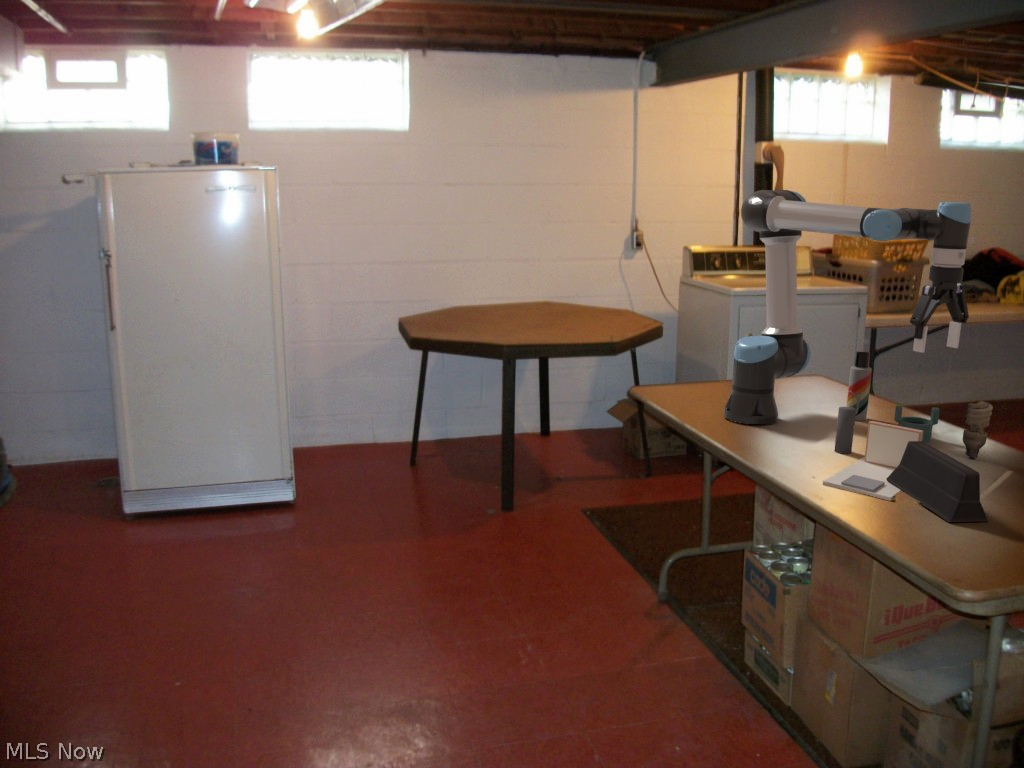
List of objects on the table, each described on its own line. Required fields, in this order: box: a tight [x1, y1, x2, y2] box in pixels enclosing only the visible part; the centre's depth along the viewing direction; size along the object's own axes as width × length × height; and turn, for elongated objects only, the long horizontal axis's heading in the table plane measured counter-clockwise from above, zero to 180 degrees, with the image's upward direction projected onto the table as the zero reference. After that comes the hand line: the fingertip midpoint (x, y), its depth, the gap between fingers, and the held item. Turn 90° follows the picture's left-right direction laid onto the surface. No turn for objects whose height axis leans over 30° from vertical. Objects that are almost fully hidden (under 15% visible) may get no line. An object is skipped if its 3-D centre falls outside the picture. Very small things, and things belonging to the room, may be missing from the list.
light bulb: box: [962, 400, 994, 460], centre depth 213 cm, size 6×6×15 cm
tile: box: [864, 420, 923, 469], centre depth 205 cm, size 12×2×10 cm, turn 48°
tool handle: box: [834, 406, 856, 455], centre depth 216 cm, size 4×4×12 cm
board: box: [822, 456, 902, 502], centre depth 200 cm, size 15×26×1 cm, turn 138°
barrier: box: [886, 441, 989, 523], centre depth 184 cm, size 24×9×10 cm, turn 8°
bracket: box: [893, 405, 940, 444], centre depth 231 cm, size 9×9×9 cm
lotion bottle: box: [846, 350, 872, 422], centre depth 249 cm, size 6×6×20 cm
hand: (935, 349), depth 219 cm, fingers open, 13 cm apart
